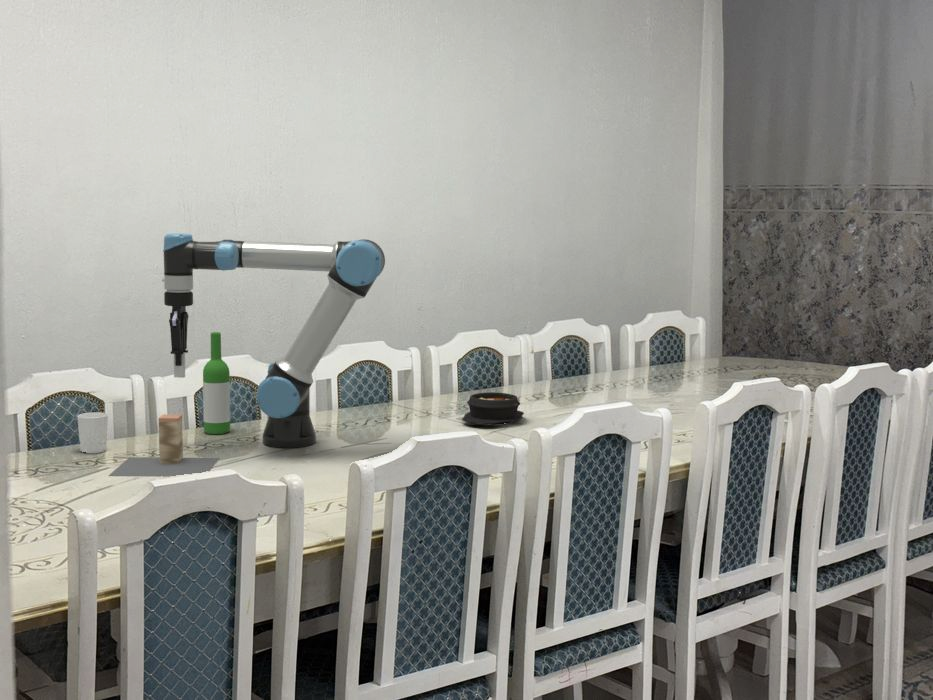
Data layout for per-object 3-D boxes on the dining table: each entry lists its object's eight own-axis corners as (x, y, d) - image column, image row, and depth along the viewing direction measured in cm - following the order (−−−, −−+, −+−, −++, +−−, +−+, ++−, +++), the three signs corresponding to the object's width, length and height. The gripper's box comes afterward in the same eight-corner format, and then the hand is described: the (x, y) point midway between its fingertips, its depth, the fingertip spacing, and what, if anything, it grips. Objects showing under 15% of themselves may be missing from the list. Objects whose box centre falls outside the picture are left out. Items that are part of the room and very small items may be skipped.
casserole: (499, 432, 331) (499, 405, 330) (447, 425, 340) (448, 398, 339) (537, 419, 352) (537, 393, 351) (487, 412, 361) (488, 387, 360)
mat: (220, 459, 290) (220, 457, 290) (205, 478, 270) (205, 476, 270) (129, 458, 289) (129, 457, 289) (108, 477, 269) (108, 476, 269)
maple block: (182, 458, 288) (182, 414, 287) (178, 463, 283) (177, 418, 282) (163, 458, 288) (163, 414, 286) (159, 463, 283) (158, 418, 281)
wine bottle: (211, 436, 318) (209, 334, 314) (199, 431, 324) (197, 332, 320) (235, 433, 323) (233, 333, 319) (222, 428, 329) (221, 330, 325)
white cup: (74, 450, 298) (73, 414, 297) (102, 446, 303) (101, 411, 302) (84, 455, 292) (83, 419, 291) (113, 451, 297) (112, 415, 296)
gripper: (170, 288, 299) (171, 373, 302) (158, 292, 286) (160, 380, 289) (197, 289, 299) (198, 373, 302) (187, 293, 286) (188, 381, 289)
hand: (179, 376), depth 296 cm, fingers closed
